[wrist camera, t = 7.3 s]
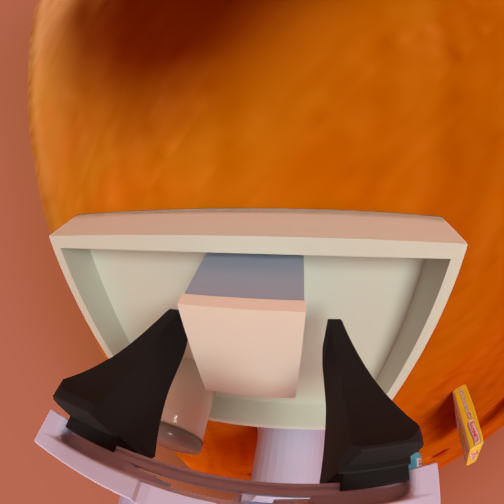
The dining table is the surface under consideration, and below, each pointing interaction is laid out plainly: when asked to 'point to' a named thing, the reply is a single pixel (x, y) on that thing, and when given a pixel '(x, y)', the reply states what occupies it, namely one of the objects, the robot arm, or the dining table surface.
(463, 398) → the candy box
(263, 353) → the pale pink block
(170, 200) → the dining table surface
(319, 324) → the white square tray
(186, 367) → the jar
